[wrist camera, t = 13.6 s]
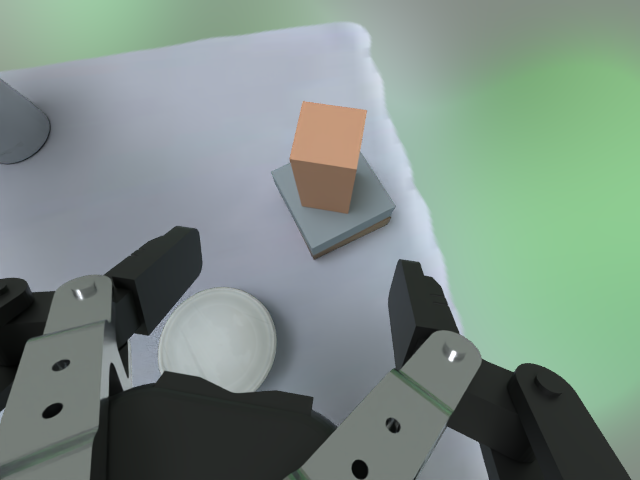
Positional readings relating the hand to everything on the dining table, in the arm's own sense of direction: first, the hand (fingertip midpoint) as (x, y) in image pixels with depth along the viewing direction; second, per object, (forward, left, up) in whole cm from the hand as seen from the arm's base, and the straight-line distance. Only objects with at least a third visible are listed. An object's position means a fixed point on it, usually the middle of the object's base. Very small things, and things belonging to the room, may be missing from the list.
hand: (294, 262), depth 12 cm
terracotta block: (-10, +7, -17) cm, 21 cm away
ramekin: (0, -10, -23) cm, 25 cm away
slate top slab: (-10, +7, -20) cm, 24 cm away
